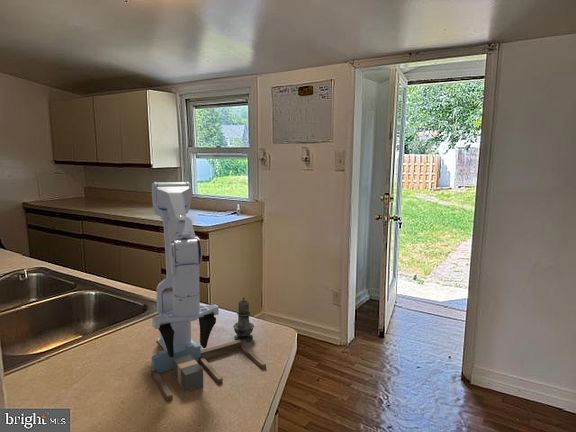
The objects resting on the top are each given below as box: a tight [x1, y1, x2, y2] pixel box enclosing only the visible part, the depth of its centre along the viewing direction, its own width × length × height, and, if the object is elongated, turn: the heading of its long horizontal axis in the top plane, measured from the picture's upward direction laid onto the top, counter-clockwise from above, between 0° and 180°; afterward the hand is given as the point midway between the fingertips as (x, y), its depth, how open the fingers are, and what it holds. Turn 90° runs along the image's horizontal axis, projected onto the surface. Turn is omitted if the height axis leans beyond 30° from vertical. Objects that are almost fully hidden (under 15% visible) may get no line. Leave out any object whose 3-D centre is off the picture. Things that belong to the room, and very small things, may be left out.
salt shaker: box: [232, 297, 255, 343], centre depth 110 cm, size 6×6×12 cm
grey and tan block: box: [173, 355, 204, 393], centre depth 89 cm, size 8×4×4 cm, turn 35°
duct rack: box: [151, 340, 267, 402], centre depth 93 cm, size 13×24×5 cm, turn 125°
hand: (187, 350), depth 88 cm, fingers open, 7 cm apart
